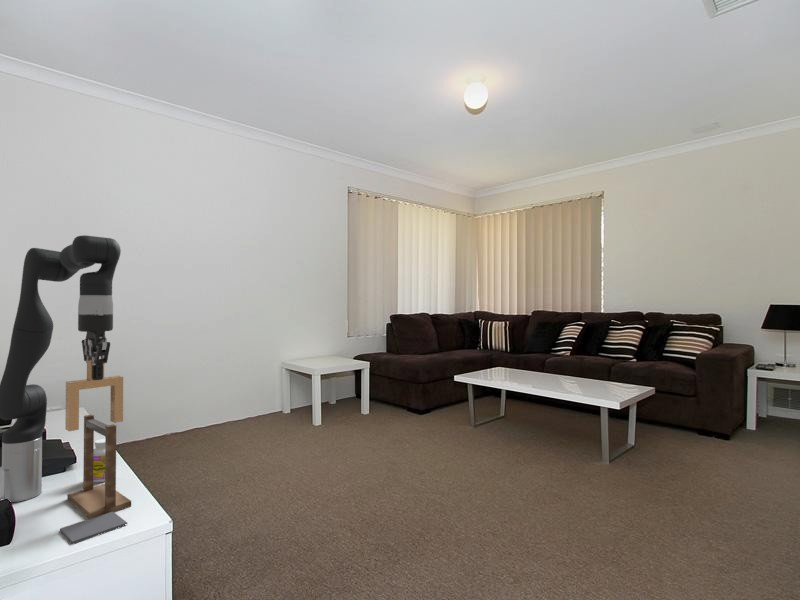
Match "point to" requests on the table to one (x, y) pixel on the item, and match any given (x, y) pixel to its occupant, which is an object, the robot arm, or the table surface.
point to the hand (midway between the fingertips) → (95, 378)
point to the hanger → (88, 383)
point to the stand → (105, 495)
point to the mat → (92, 527)
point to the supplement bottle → (99, 461)
